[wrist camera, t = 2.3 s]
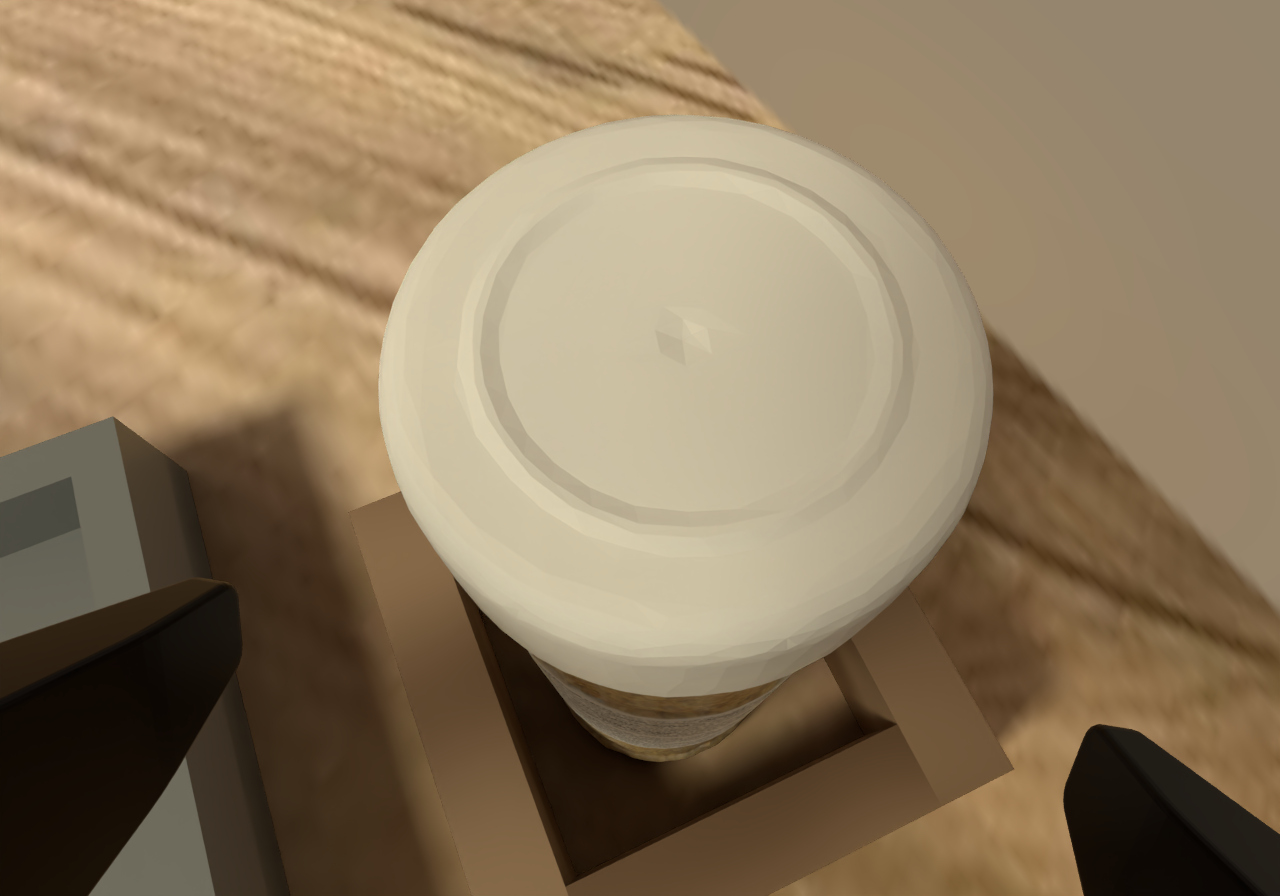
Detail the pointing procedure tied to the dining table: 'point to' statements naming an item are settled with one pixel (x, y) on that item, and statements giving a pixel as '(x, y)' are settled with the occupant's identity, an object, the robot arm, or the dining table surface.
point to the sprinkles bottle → (683, 413)
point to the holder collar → (714, 842)
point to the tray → (111, 573)
